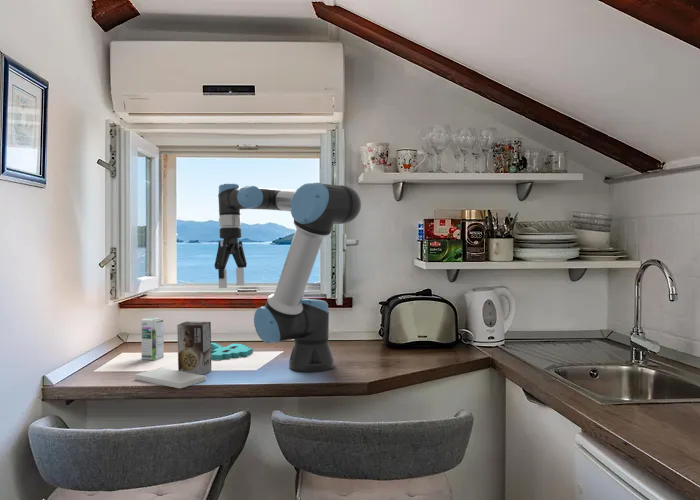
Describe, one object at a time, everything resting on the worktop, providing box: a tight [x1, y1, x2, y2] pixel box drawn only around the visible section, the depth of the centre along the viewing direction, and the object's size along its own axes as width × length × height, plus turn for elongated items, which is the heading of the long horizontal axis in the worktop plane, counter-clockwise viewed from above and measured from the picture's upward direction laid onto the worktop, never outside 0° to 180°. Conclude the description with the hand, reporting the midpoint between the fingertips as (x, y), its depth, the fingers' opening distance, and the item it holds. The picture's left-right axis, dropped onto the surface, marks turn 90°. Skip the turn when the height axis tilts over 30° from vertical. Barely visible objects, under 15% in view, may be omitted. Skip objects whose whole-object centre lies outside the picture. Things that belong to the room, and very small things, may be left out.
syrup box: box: [140, 317, 165, 361], centre depth 196 cm, size 6×6×14 cm
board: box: [134, 367, 207, 389], centre depth 167 cm, size 20×10×2 cm, turn 59°
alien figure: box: [211, 342, 254, 361], centre depth 204 cm, size 20×2×20 cm
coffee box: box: [176, 321, 212, 375], centre depth 176 cm, size 9×6×16 cm
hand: (231, 286), depth 193 cm, fingers open, 13 cm apart
